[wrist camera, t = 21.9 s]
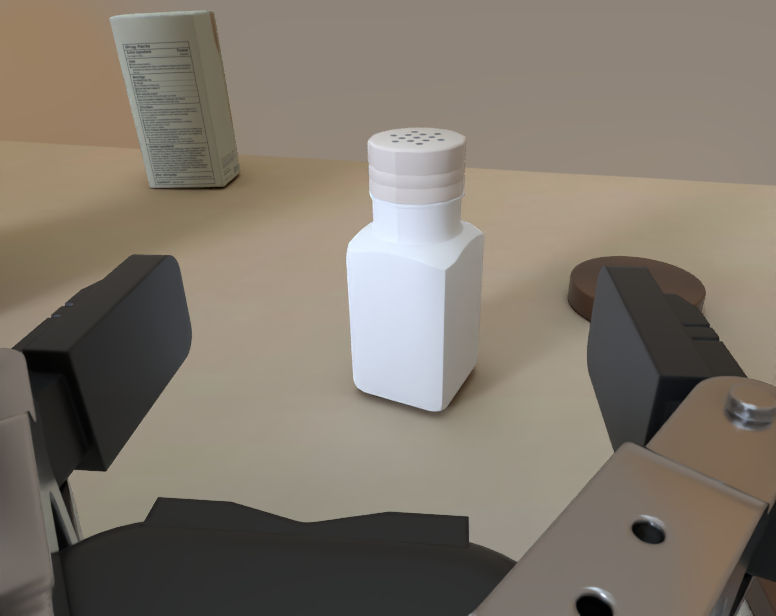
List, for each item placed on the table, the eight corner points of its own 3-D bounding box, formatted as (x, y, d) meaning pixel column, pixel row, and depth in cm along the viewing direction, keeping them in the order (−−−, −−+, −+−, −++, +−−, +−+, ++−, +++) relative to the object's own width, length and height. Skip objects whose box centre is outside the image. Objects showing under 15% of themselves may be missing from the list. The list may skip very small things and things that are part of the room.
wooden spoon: (966, 684, 14) (990, 651, 13) (686, 661, 14) (696, 628, 14) (677, 278, 32) (682, 256, 32) (559, 275, 33) (562, 254, 32)
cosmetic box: (242, 173, 51) (220, 9, 45) (224, 189, 47) (197, 12, 42) (167, 173, 52) (136, 10, 46) (144, 188, 48) (106, 14, 42)
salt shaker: (481, 366, 25) (495, 129, 21) (444, 422, 22) (451, 158, 18) (394, 344, 27) (389, 120, 22) (347, 394, 24) (331, 145, 19)
